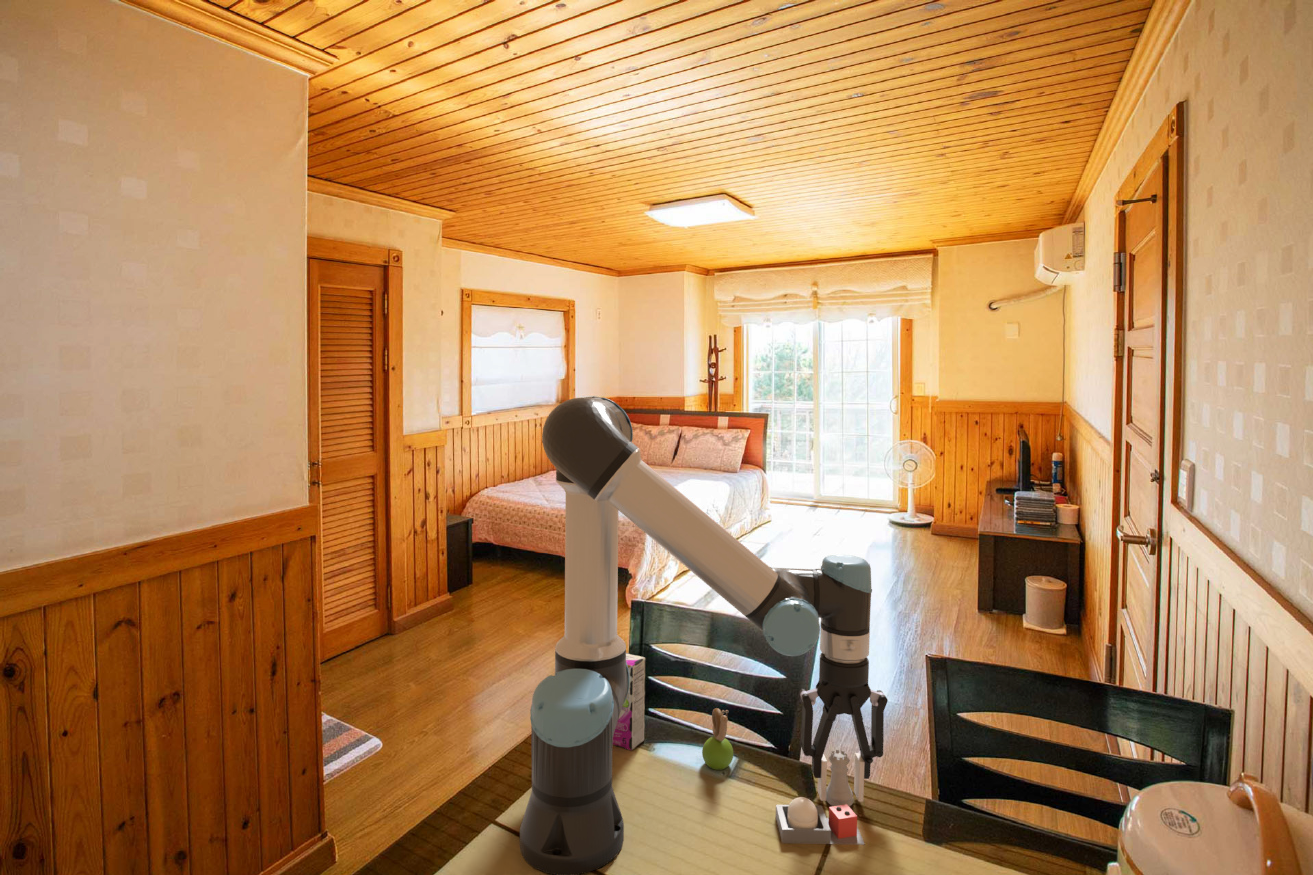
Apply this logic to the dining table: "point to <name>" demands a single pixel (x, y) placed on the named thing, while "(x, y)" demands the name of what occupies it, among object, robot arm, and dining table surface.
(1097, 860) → the dining table surface
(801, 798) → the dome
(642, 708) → the candy bar box
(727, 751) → the snail figurine
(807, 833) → the grey compartment tray
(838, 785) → the rook chess piece
